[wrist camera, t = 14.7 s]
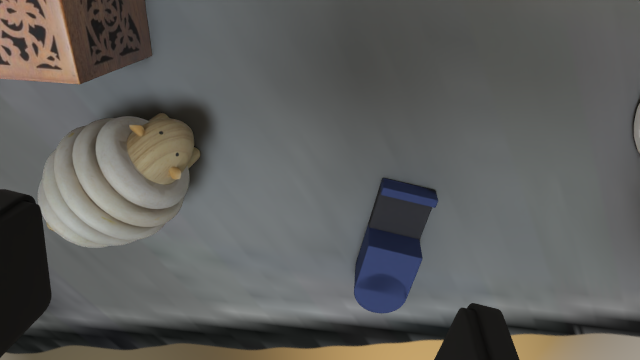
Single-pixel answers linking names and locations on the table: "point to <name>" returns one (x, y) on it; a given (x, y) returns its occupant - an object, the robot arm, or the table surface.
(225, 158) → the table surface
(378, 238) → the navy rounded-end tab
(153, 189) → the toy sheep
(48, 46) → the tissue box cover
